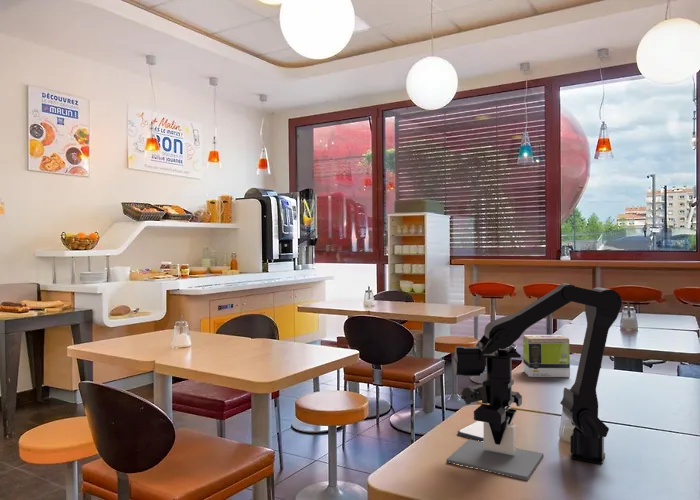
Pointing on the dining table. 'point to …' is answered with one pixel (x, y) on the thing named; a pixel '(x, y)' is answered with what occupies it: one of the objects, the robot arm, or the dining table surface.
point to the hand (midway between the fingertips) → (499, 442)
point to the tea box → (546, 356)
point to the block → (507, 441)
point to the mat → (496, 459)
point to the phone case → (473, 431)
